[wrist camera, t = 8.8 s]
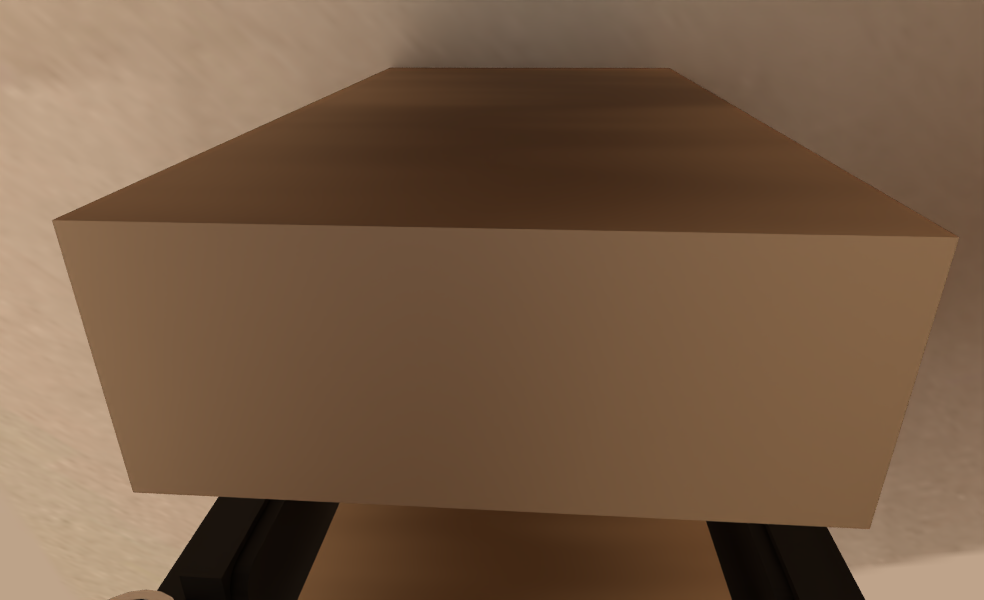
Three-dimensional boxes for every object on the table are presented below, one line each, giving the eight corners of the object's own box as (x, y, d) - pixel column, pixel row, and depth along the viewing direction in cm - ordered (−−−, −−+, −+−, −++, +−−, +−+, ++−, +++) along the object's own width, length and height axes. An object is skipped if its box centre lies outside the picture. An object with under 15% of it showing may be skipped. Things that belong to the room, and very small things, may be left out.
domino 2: (646, 341, 14) (798, 804, 6) (639, 421, 15) (764, 937, 6) (412, 335, 14) (226, 762, 6) (416, 414, 15) (258, 892, 7)
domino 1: (669, 67, 12) (959, 236, 3) (658, 179, 12) (870, 529, 4) (389, 67, 12) (51, 220, 4) (397, 176, 13) (132, 493, 5)
